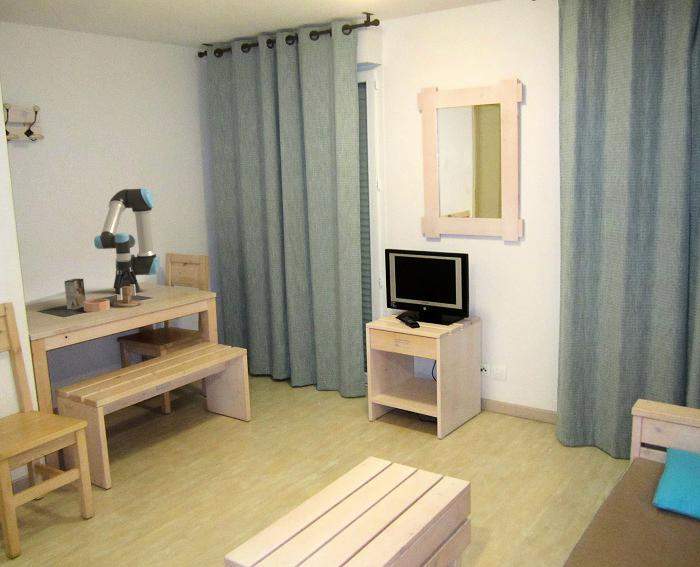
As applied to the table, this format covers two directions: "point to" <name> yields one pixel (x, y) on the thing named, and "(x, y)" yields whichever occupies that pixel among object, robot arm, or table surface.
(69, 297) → the coffee box
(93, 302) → the bowl
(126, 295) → the lid
